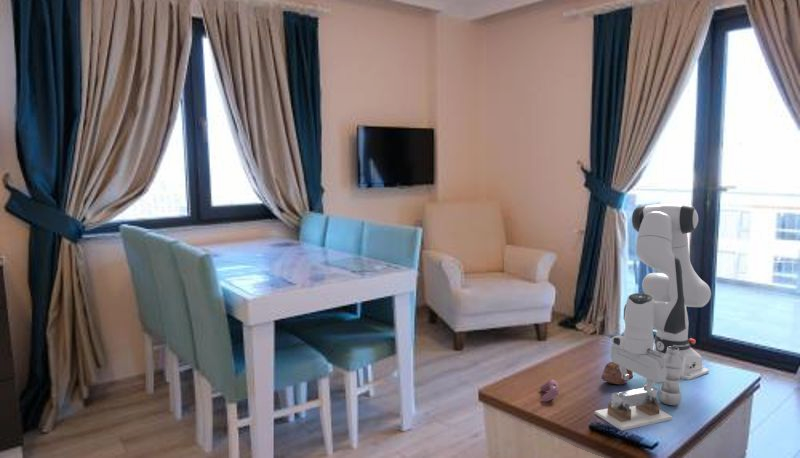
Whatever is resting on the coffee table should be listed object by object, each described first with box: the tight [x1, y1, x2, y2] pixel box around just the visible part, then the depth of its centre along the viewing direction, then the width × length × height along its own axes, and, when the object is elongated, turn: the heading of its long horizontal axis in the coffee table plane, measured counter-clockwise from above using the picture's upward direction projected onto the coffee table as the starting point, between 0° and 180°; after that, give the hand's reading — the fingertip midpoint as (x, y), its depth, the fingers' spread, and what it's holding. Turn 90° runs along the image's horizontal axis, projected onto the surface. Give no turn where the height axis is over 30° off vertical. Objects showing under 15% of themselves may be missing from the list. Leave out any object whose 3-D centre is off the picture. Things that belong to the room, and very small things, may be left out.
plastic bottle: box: [658, 346, 683, 406], centre depth 183 cm, size 6×7×20 cm
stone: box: [601, 361, 634, 385], centre depth 200 cm, size 13×8×10 cm
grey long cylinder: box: [610, 386, 658, 409], centre depth 174 cm, size 18×4×4 cm, turn 110°
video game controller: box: [539, 379, 560, 402], centre depth 189 cm, size 10×5×7 cm, turn 169°
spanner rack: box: [594, 398, 674, 431], centre depth 174 cm, size 21×12×6 cm, turn 111°
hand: (636, 384), depth 173 cm, fingers open, 8 cm apart
